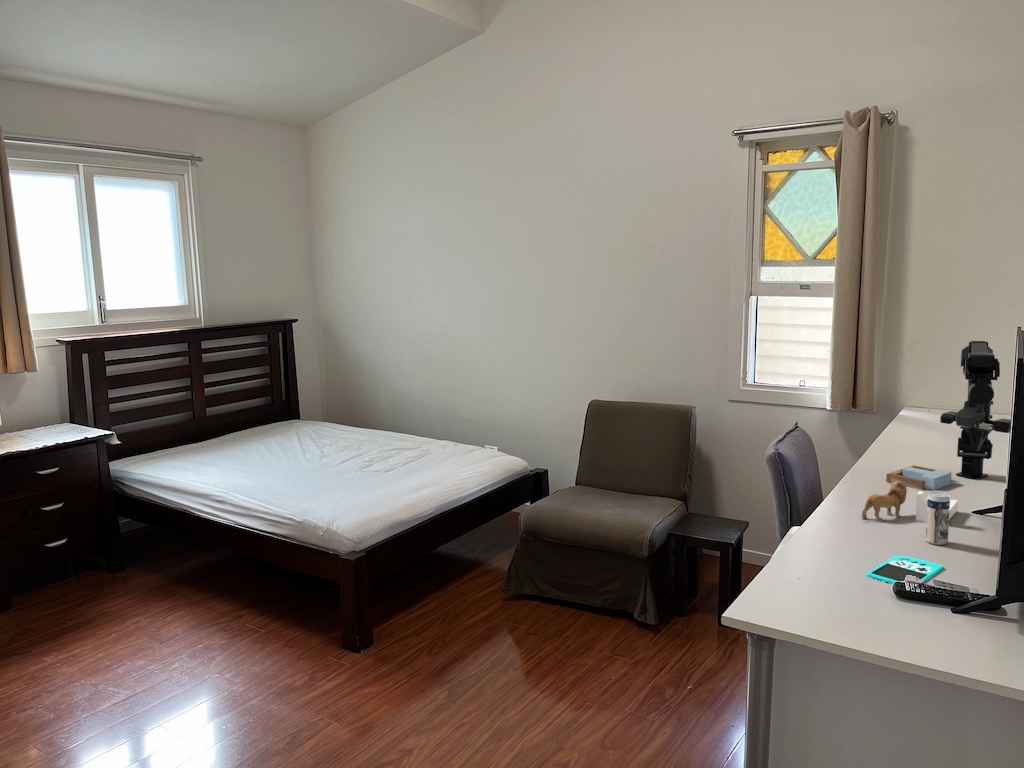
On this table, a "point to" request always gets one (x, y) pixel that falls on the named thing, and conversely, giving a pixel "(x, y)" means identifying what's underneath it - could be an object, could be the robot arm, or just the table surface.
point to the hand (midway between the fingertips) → (976, 450)
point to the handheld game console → (904, 569)
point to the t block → (929, 477)
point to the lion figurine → (887, 500)
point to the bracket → (922, 507)
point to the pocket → (907, 478)
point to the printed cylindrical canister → (937, 518)
